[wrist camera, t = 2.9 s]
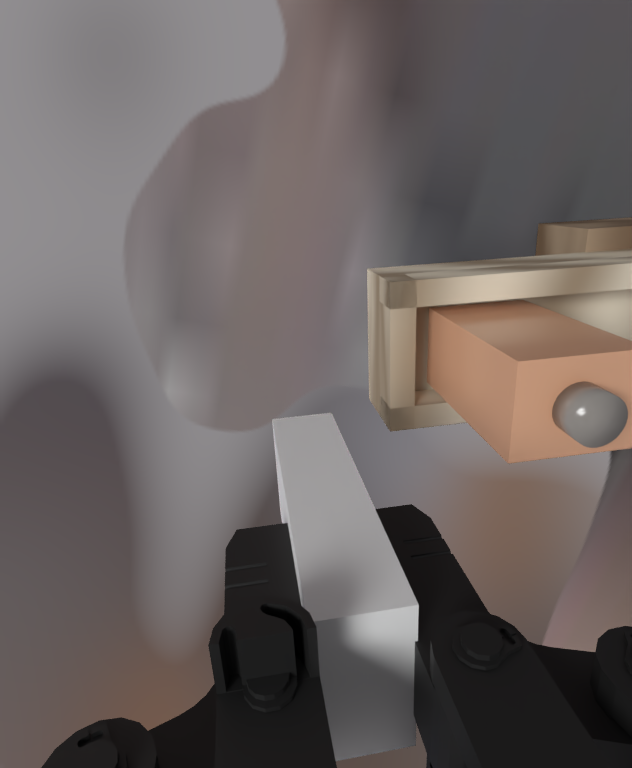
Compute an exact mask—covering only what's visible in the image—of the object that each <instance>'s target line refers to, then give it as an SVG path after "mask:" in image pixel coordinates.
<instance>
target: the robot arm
mask: <svg viewBox="0 0 632 768" xmlns="http://www.w3.org/2000/svg"><path fill="white" fill-rule="evenodd" d="M272 423H273V433H274V444H275V454H276V455H275V456H276V467H277V477H278V488H279V500H280V511H281V517H282V524H276V525H269V526H262V527H254V528H246V529H239V530H236V532H235V534H234V536H233V537H232V539H231V540H230V542H229V544H228V546H227V547H226V563H225V569H226V572H225V610H224V615H223V617H222V618H221V619H220V620H219V622H218V623H217V624H216V625H215V627H214V628H213V631H212V635H211V638H210V642H209V651H210V657H211V663H212V669H213V675H214V681H215V684H214V685H213V687H212V688H211V689H210V691H209V692H208V693H207V695H206V696H205V697H204V698H202V699H201V700H200V701H199V702H198V703H197V704H196V705H195V706H194V707H192V708H190V709H189V710H187V711H186V712H184V713H182V714H181V715H179V716H177V717H175V718H173V719H171V720H169V721H167V722H165V723H163V724H161V725H159V726H157V727H155V728H153V729H151V730H149V731H147V730H146V729H145V728H144V727H143V726H142V725H141V724H140V723H139V722H136V721H132V720H128V719H125V718H115V719H108V720H101V721H98V722H96V723H94V724H91V725H89V726H87V727H85V728H83V729H81V730H79V731H77V732H75V733H74V734H73V735H72V736H70V737H69V738H68V739H67V740H66V741H64V742H63V743H62V744H61V745H60V746H59V747H57V748H56V749H55V750H54V752H53V753H52V754H51V756H50V757H49V758H48V760H47V761H46V762H45V764H44V765H43V766H42V768H337V767H336V761H339V760H344V759H349V758H354V757H359V756H364V755H369V754H375V753H380V752H385V751H390V750H395V749H400V748H405V747H410V746H415V745H416V723H417V726H418V729H419V732H420V734H421V737H422V740H423V743H424V746H425V749H426V752H427V767H426V768H632V627H629V626H623V627H619V628H614V629H609V630H608V631H606V632H605V633H604V634H603V635H602V636H601V637H600V638H598V642H597V647H596V652H587V651H578V650H570V649H561V648H552V647H547V646H542V645H537V644H534V643H531V642H529V641H527V640H526V638H525V637H524V636H523V635H522V634H521V633H520V632H519V631H518V630H517V629H516V628H515V627H514V626H513V625H511V624H510V623H508V622H506V621H505V620H503V619H501V618H500V617H498V616H495V615H491V614H490V613H489V612H488V611H487V609H486V607H485V606H484V604H483V602H482V601H481V599H480V598H479V596H478V594H477V593H476V591H475V589H474V588H473V586H472V585H471V583H470V581H469V580H468V578H467V576H466V575H465V573H464V572H463V570H462V568H461V567H460V565H459V563H458V562H457V560H456V559H455V557H454V555H453V554H451V552H450V549H449V547H448V546H447V544H446V542H445V541H444V539H442V538H441V534H440V533H439V531H438V529H437V528H436V526H435V524H434V523H433V521H432V519H431V518H430V517H428V516H427V515H426V514H424V513H423V512H422V511H420V510H419V509H417V508H416V507H414V506H413V505H412V504H411V505H403V506H396V507H388V508H381V509H375V508H374V505H373V503H372V501H371V499H370V497H369V494H368V492H367V490H366V488H365V486H364V484H363V481H362V479H361V477H360V475H359V472H358V470H357V468H356V466H355V464H354V461H353V459H352V457H351V455H350V453H349V450H348V449H347V446H346V444H345V442H344V439H343V437H342V435H341V433H340V431H339V428H338V427H337V424H336V422H335V420H334V417H333V415H332V413H325V414H315V415H306V416H297V417H288V418H279V419H272Z"/></svg>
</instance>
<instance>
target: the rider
mask: <svg viewBox="0 0 632 768" xmlns="http://www.w3.org/2000/svg"><path fill="white" fill-rule="evenodd" d="M427 383H428V384H429V385H430V386H431V387H432V388H433V389H434V390H435V391H436V392H437V393H438V394H439V395H440V396H441V397H442V398H443V399H444V400H445V401H446V402H447V403H448V404H449V405H450V406H451V407H452V408H453V409H454V410H455V411H456V412H457V413H458V414H459V415H460V416H461V417H462V418H463V419H464V420H465V421H466V422H467V423H468V424H469V425H470V426H471V427H472V428H473V429H474V430H475V431H476V432H477V433H478V434H479V435H480V436H481V437H482V438H483V439H484V440H485V441H486V442H487V443H488V444H489V445H490V446H491V447H492V448H493V449H494V450H495V451H496V452H497V453H498V454H499V455H500V456H501V457H502V458H503V459H504V460H505V461H506V462H507V463H517V462H525V461H533V460H541V459H549V458H557V457H565V456H573V455H581V454H589V453H596V452H605V451H613V450H621V449H629V448H632V341H630V340H628V339H625V338H622V337H620V336H617V335H615V334H612V333H609V332H607V331H604V330H601V329H599V328H596V327H593V326H591V325H588V324H586V323H583V322H580V321H578V320H575V319H572V318H570V317H567V316H564V315H562V314H559V313H557V312H554V311H551V310H549V309H546V308H543V307H541V306H538V305H535V304H533V303H530V302H527V301H525V300H513V301H501V302H490V303H478V304H467V305H455V306H443V307H432V308H429V322H428V358H427Z"/></svg>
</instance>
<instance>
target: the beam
mask: <svg viewBox="0 0 632 768" xmlns="http://www.w3.org/2000/svg"><path fill="white" fill-rule="evenodd" d="M367 286H368V351H369V399H370V401H371V402H372V404H373V405H374V407H375V409H376V410H377V412H378V413H379V415H380V416H381V418H382V419H383V421H384V423H385V424H386V426H387V427H388V429H389V430H390V431H399V430H407V429H416V428H424V427H434V426H442V425H451V424H460V423H467V422H466V421H465V420H464V419H463V418H462V417H461V416H460V415H459V414H458V413H457V412H456V411H455V410H454V409H453V408H452V407H451V406H450V405H449V404H448V403H447V402H446V401H445V400H444V399H443V398H442V397H441V396H440V395H439V394H438V393H437V392H436V391H435V390H434V389H433V388H432V387H431V386H430V385H429V384H428V383H427V358H428V322H429V308H432V307H443V306H455V305H467V304H478V303H490V302H501V301H513V300H525V301H527V302H530V303H533V304H535V305H538V306H541V307H543V308H546V309H549V310H551V311H554V312H557V313H559V314H562V315H564V316H567V317H570V318H572V319H575V320H578V321H580V322H583V323H586V324H588V325H591V326H593V327H596V328H599V329H601V330H604V331H607V332H609V333H612V334H615V335H617V336H620V337H622V338H625V339H628V340H630V341H632V217H629V218H615V219H600V220H585V221H570V222H555V223H540V224H539V225H538V235H537V245H536V255H535V256H529V257H516V258H502V259H489V260H476V261H463V262H449V263H436V264H423V265H409V266H396V267H383V268H370V269H367Z"/></svg>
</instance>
